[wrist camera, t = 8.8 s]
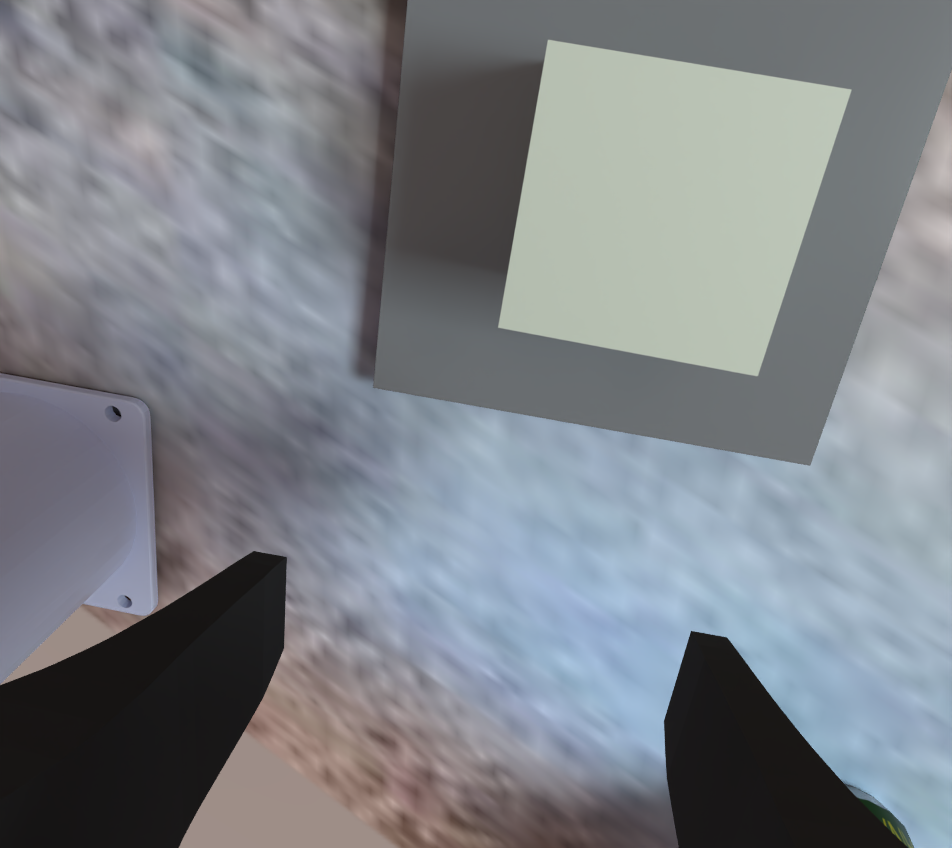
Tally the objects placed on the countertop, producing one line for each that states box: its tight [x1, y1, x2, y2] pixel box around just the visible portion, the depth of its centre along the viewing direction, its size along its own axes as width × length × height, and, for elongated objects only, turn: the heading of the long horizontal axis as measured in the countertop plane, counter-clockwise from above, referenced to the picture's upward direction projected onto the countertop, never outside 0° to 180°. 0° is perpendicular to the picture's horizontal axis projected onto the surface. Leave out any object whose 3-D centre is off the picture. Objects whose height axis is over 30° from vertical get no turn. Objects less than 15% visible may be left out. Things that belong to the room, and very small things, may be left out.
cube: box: [498, 40, 851, 376], centre depth 15 cm, size 5×5×5 cm
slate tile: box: [373, 0, 952, 465], centre depth 18 cm, size 12×12×1 cm
